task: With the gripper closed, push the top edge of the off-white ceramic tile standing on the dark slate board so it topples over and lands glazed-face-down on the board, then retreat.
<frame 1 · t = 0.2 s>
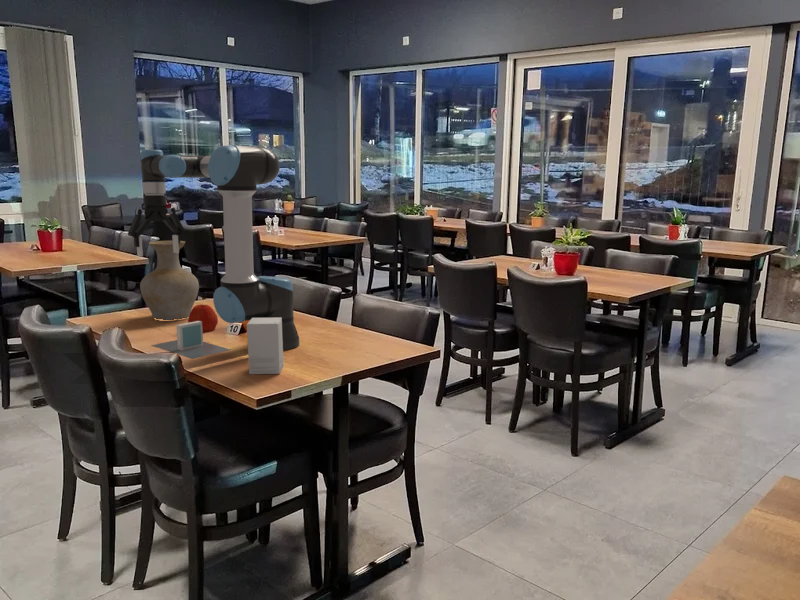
hand: (158, 254, 238), 28 cm above the table, fingers open, 13 cm apart
vase: (171, 318, 264), on the table
apple: (203, 333, 240), on the table
slate board: (190, 351, 215), on the table
tile: (190, 347, 215), point 1 cm above the table, touching slate board
supplement box: (266, 370, 195), on the table
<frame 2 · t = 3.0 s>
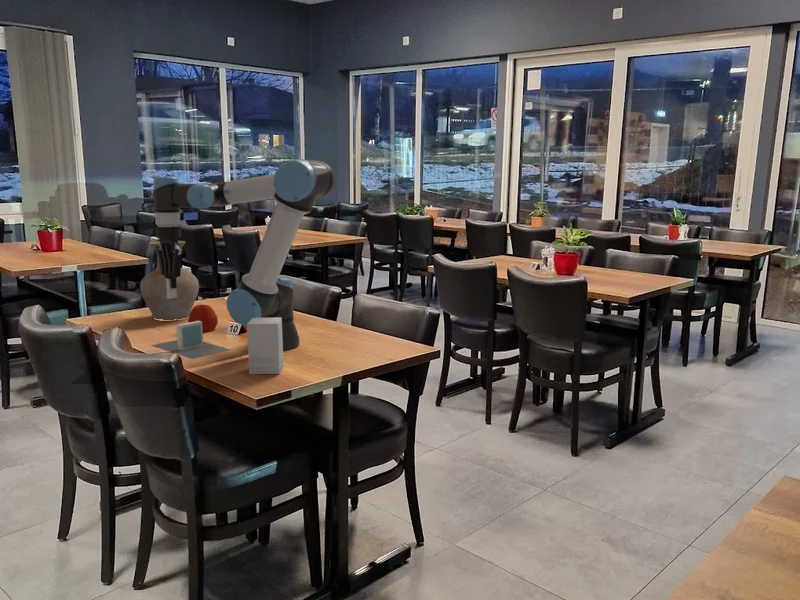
hand: (172, 297, 218), 16 cm above the table, fingers closed
nothing on the table moved.
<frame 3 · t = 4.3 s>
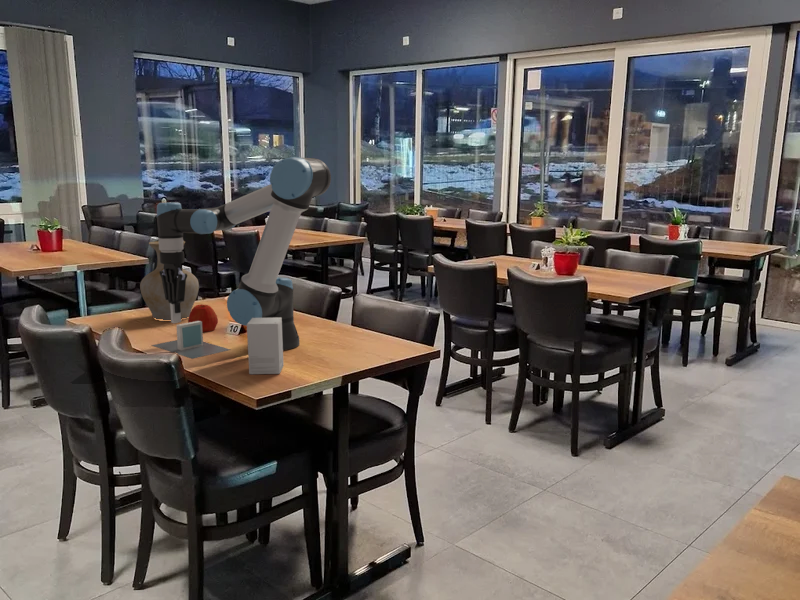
hand: (176, 322, 218), 8 cm above the table, fingers closed
nothing on the table moved.
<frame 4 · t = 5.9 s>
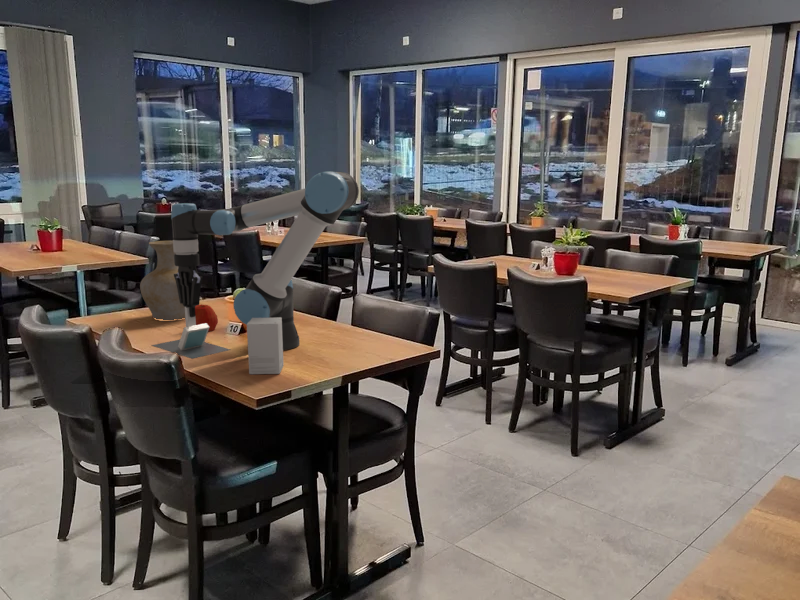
hand: (190, 326, 213), 8 cm above the table, fingers closed
tile: (190, 345, 214), point 2 cm above the table, tilted 31°, touching slate board
everything else where it was.
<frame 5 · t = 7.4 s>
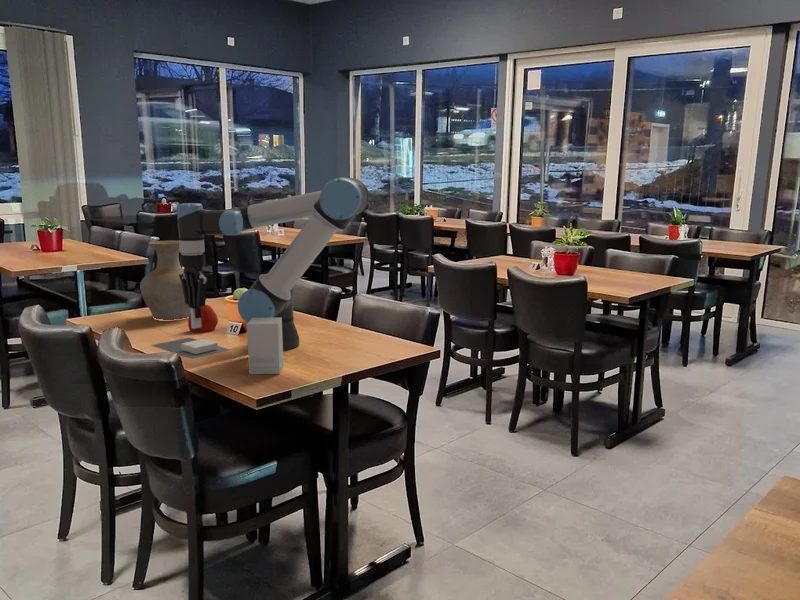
hand: (196, 327, 211), 8 cm above the table, fingers closed
tile: (192, 344, 214), point 2 cm above the table, tilted 90°, touching slate board
everything else where it was.
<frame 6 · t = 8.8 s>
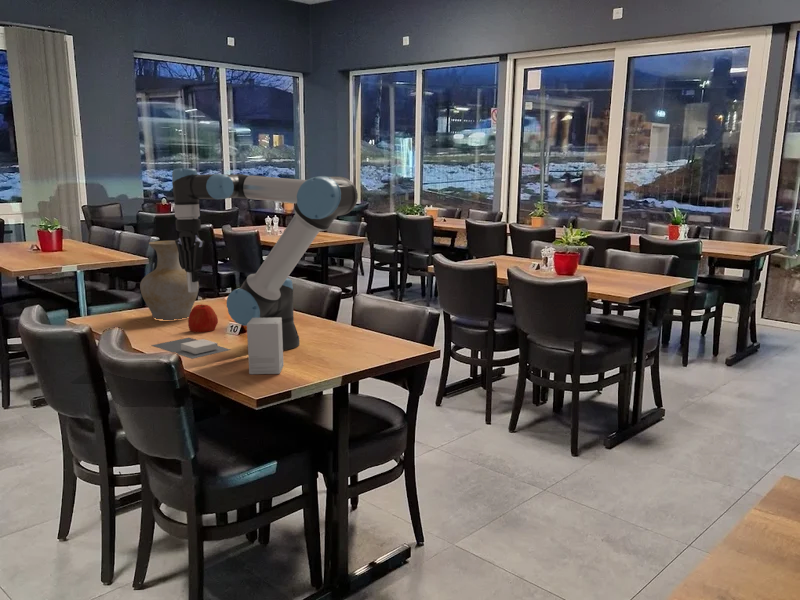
hand: (193, 291, 214), 19 cm above the table, fingers closed
nothing on the table moved.
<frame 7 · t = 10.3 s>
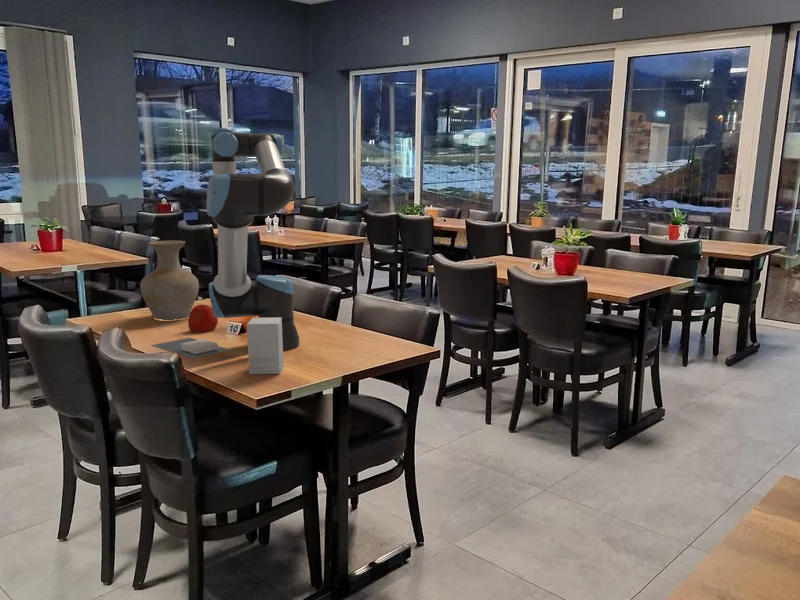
hand: (227, 243, 232), 32 cm above the table, fingers closed
nothing on the table moved.
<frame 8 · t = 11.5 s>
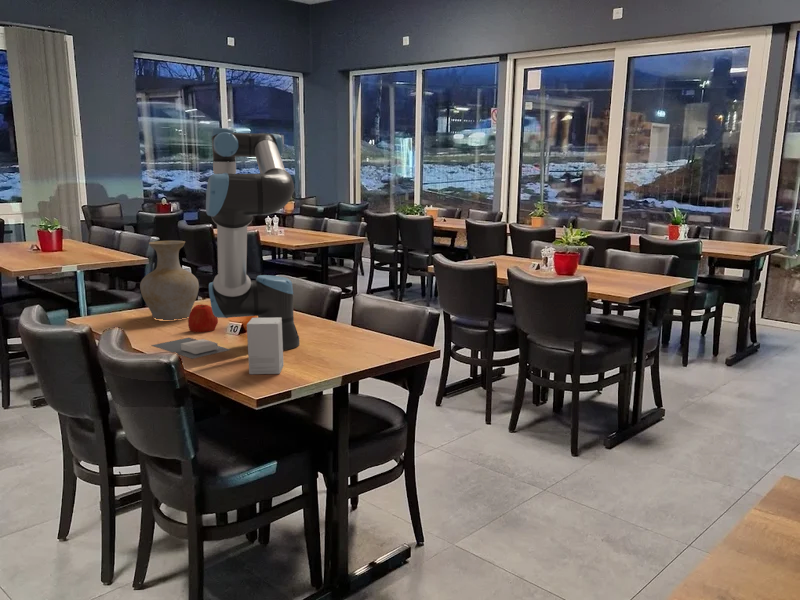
hand: (228, 243, 232), 32 cm above the table, fingers closed
nothing on the table moved.
at the end: tile tilted 90°; tile inside the target area on the slate board (1.1 cm from its centre), point 2.4 cm above the slate board's base; tile touching slate board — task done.
